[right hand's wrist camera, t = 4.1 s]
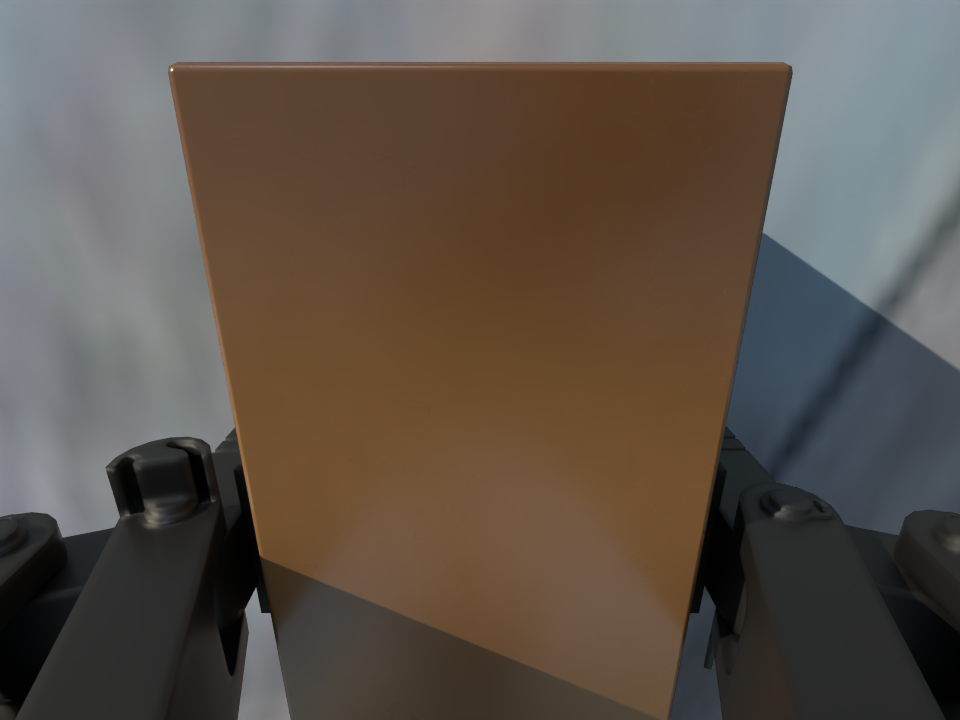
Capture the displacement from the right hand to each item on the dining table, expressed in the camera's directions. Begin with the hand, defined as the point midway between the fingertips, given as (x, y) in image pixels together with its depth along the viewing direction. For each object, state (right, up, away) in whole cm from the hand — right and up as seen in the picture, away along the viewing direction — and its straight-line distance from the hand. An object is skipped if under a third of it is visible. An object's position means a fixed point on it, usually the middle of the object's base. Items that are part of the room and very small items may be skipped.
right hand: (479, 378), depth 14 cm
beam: (0, -19, +8) cm, 20 cm away
